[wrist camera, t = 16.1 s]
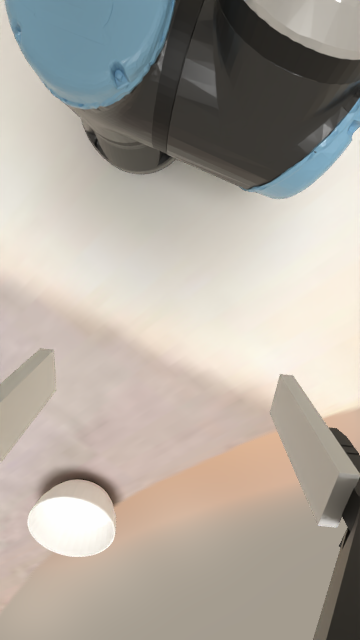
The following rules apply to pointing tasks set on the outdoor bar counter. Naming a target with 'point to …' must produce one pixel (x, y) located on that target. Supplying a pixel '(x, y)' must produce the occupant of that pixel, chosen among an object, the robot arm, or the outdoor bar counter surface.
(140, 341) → the outdoor bar counter surface
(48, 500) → the bowl
